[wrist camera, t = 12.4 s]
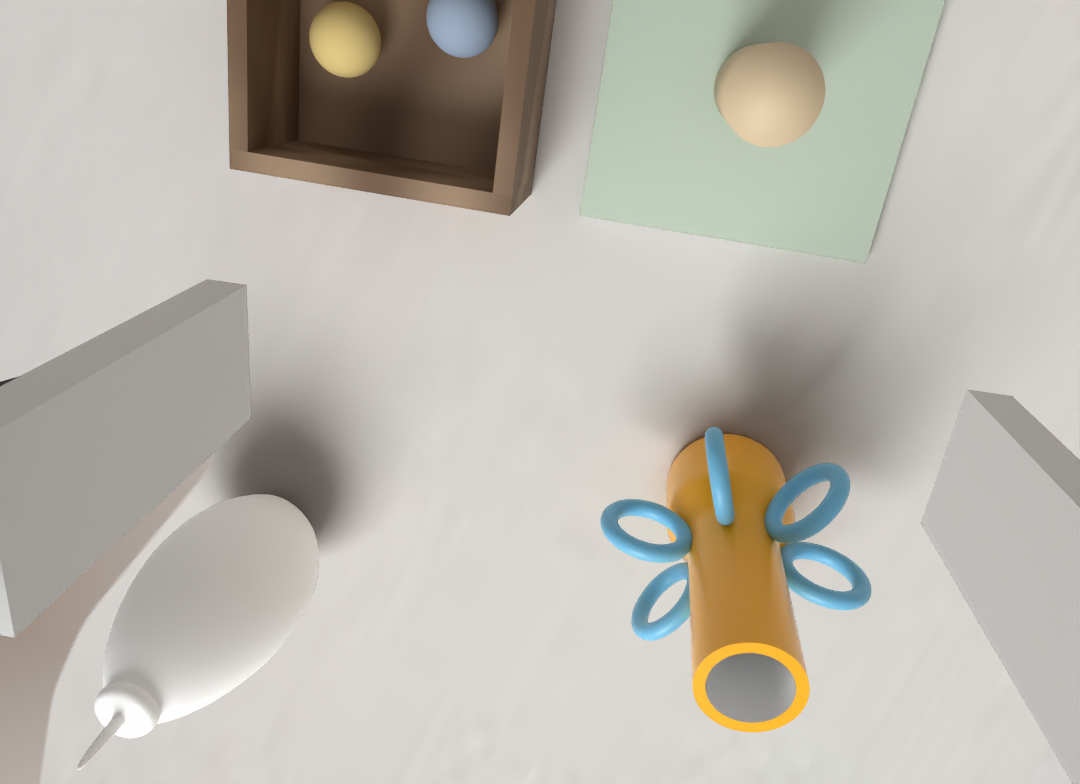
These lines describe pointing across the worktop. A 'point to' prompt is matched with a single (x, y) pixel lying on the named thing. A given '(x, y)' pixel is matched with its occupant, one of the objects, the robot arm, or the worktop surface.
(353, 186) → the box
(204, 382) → the robot arm
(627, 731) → the worktop surface
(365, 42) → the ball
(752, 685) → the cylinder
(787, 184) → the lid
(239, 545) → the sauce bottle
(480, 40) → the ball
